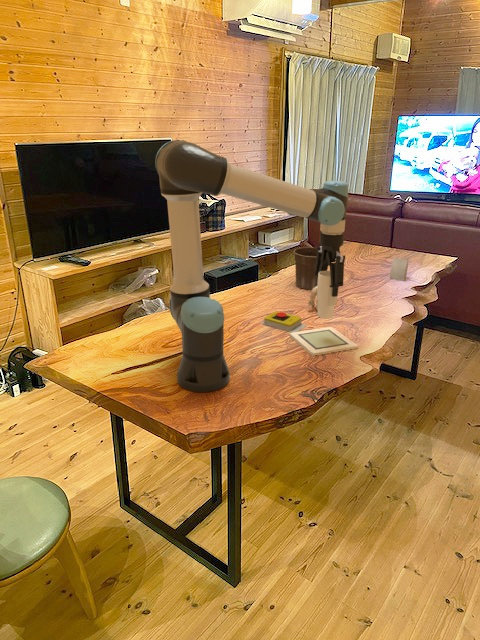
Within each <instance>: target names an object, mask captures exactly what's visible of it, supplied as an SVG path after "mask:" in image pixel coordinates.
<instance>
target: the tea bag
mask: <svg viewBox="0 0 480 640" xmlns="http://www.w3.org/2000/svg"><path fill="white" fill-rule="evenodd" d="M408 267H409V259H404V258H398V257H393V258H392V263H391V267H390V272H389V279H390V280H395V281H400V282H404V281H406V280H407V274H408V273H407V272H408Z"/></svg>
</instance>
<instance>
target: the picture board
mask: <svg viewBox="0 0 480 640" xmlns="http://www.w3.org/2000/svg"><path fill="white" fill-rule="evenodd" d="M288 336H289V337H290V339H292V340H293V341H295V342H296V343H297V344H298V345H299V346H300V347H301V348H302V349H304V350H305V351H306V352H307V353H308V354H309V355H311V357H316V356H315V355H317V356H322V355H321V354H323V355H327V354H326V353H329V354H332V353H331V352H335V353H339V352H338V351H341V352H344V351H343V350H346V351H351V350H350V349H352V350H357V349H356V348H359V345H357V344H356V343H355V342H354V341H352V340H350V339H349V338H348V337H347V336H345V335H343V334H342V333H341V332H339V331H338V330H336V329H335V328H334V327H333V326H327V327H321V328H314V329H306V330H302V331H301V330H300V331H298V332H293V333H291V332H288Z"/></svg>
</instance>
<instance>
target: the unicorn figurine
mask: <svg viewBox="0 0 480 640" xmlns="http://www.w3.org/2000/svg"><path fill="white" fill-rule="evenodd" d="M315 300H316V301H315ZM315 302H316V305H315ZM307 306H308V308H310V307H312V308H315V310H316V311H318V298H317V286H316V287H315V288H313V289H312V290H310V295H309V299H308V301H307Z"/></svg>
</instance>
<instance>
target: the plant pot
mask: <svg viewBox="0 0 480 640" xmlns="http://www.w3.org/2000/svg"><path fill="white" fill-rule="evenodd" d="M293 254H294V261H295V286H296V288H299V289H303V290H309V291H312V289H313V288H315V287H316V286H317V282H318V279H317V275H315V274H314V272H315V264H316V256H317V247H313V246H312V247H310V246H309V247H298V248H295V249H294V250H293Z"/></svg>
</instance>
